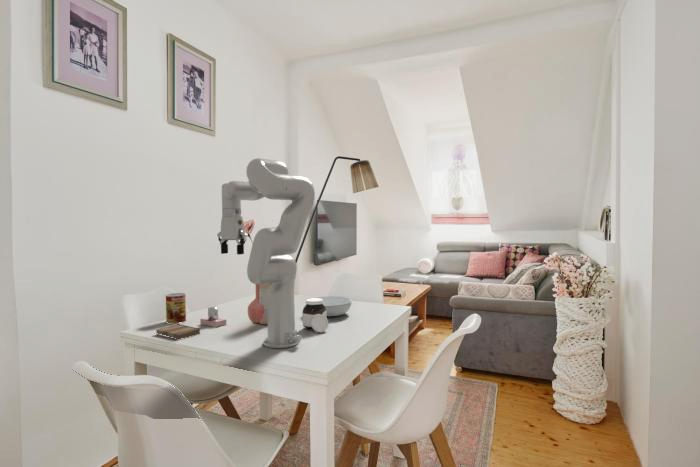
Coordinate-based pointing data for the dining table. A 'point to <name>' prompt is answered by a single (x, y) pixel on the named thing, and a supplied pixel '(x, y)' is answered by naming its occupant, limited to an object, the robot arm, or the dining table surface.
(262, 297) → the cracker box
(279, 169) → the robot arm
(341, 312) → the serving bowl
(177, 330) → the brown flat block
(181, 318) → the canned food
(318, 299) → the spread jar
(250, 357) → the dining table surface
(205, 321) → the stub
